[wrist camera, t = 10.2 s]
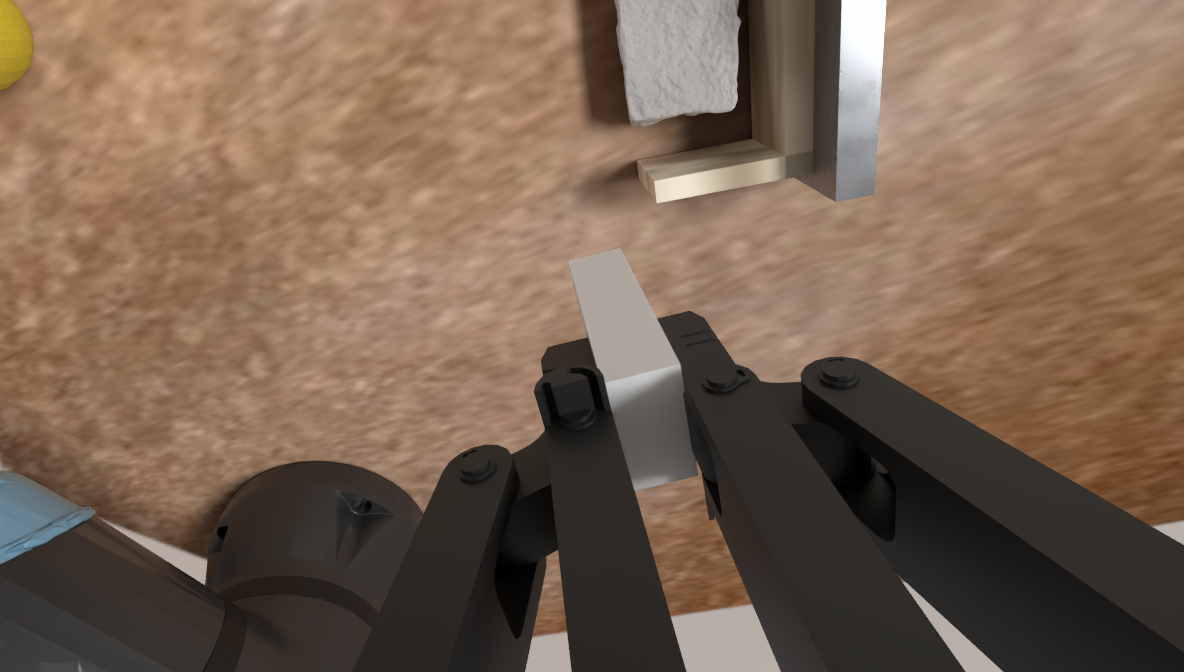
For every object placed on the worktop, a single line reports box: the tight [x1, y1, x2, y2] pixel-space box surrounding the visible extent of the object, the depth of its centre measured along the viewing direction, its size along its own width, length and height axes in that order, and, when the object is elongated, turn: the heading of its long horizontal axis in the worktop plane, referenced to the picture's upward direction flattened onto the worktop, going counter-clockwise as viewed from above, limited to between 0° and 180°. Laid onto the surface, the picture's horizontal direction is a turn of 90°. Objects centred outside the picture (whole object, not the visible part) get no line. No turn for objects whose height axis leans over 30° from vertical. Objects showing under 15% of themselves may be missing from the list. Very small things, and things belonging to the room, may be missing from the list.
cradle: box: [637, 0, 815, 203], centre depth 32 cm, size 8×14×5 cm, turn 9°
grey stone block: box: [614, 0, 741, 127], centre depth 33 cm, size 10×6×6 cm, turn 3°
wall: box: [794, 0, 886, 202], centre depth 31 cm, size 2×16×8 cm, turn 9°
